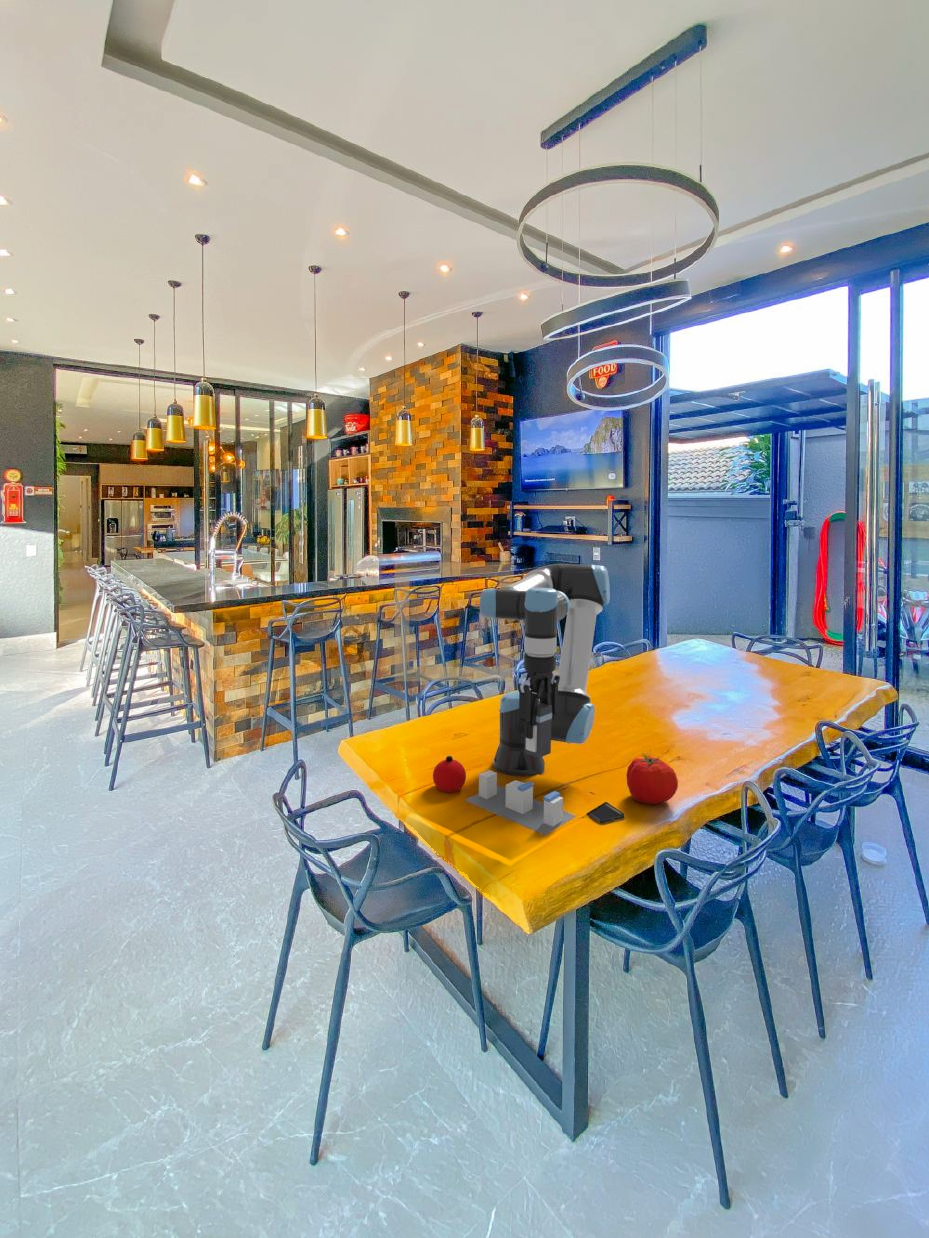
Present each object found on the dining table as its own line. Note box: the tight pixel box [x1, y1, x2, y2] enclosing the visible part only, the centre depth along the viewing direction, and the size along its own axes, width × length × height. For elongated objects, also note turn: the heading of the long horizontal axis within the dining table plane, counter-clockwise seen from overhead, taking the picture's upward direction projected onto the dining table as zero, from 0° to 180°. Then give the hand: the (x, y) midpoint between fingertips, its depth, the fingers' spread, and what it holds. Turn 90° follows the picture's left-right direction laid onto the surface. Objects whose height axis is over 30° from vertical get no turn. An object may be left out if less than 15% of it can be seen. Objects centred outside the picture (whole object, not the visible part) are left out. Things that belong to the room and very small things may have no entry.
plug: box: [525, 702, 552, 758], centre depth 155 cm, size 5×5×12 cm
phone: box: [586, 791, 625, 824], centre depth 164 cm, size 8×1×15 cm
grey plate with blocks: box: [464, 769, 577, 838], centre depth 162 cm, size 13×26×8 cm, turn 46°
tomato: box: [626, 753, 679, 805], centre depth 168 cm, size 12×13×12 cm
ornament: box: [432, 755, 467, 794], centre depth 173 cm, size 9×9×10 cm
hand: (537, 747), depth 155 cm, fingers closed on plug, 4 cm apart
